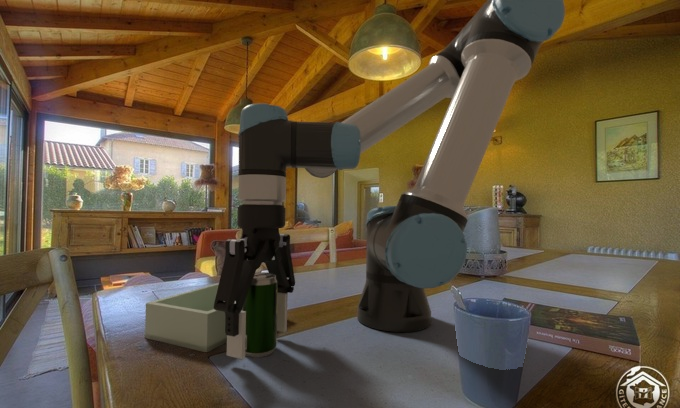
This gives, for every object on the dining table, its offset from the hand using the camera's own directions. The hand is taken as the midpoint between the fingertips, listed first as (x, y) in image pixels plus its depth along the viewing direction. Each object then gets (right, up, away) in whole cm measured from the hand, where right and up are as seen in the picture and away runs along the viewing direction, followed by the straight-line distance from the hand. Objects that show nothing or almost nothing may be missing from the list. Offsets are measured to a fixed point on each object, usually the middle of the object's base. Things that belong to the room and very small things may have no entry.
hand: (259, 342), depth 52 cm
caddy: (-11, -1, +11) cm, 15 cm away
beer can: (0, -2, 0) cm, 2 cm away
